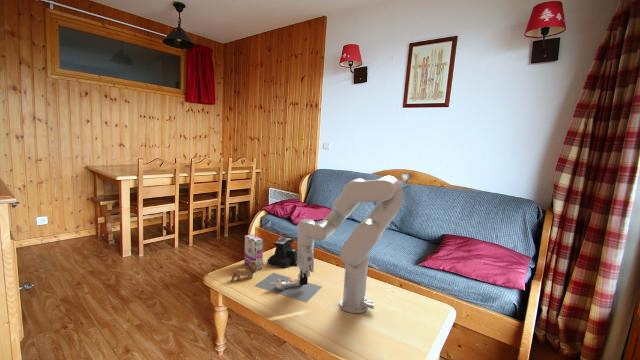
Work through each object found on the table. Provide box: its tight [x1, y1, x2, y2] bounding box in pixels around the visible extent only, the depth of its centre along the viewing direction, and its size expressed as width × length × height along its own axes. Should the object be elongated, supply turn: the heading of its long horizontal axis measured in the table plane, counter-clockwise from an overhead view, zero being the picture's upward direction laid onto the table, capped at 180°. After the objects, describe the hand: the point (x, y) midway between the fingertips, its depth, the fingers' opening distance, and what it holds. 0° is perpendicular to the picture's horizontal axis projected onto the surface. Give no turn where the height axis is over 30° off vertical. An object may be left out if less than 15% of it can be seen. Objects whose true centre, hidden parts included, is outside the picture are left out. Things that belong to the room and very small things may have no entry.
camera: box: [267, 236, 298, 269], centre depth 178 cm, size 16×14×15 cm
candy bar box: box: [244, 233, 264, 271], centre depth 171 cm, size 11×5×16 cm, turn 44°
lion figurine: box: [230, 261, 258, 283], centre depth 154 cm, size 15×5×9 cm, turn 131°
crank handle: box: [269, 273, 303, 291], centre depth 148 cm, size 16×6×5 cm, turn 114°
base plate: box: [254, 272, 323, 303], centre depth 150 cm, size 28×16×1 cm, turn 64°
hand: (303, 283), depth 146 cm, fingers closed
